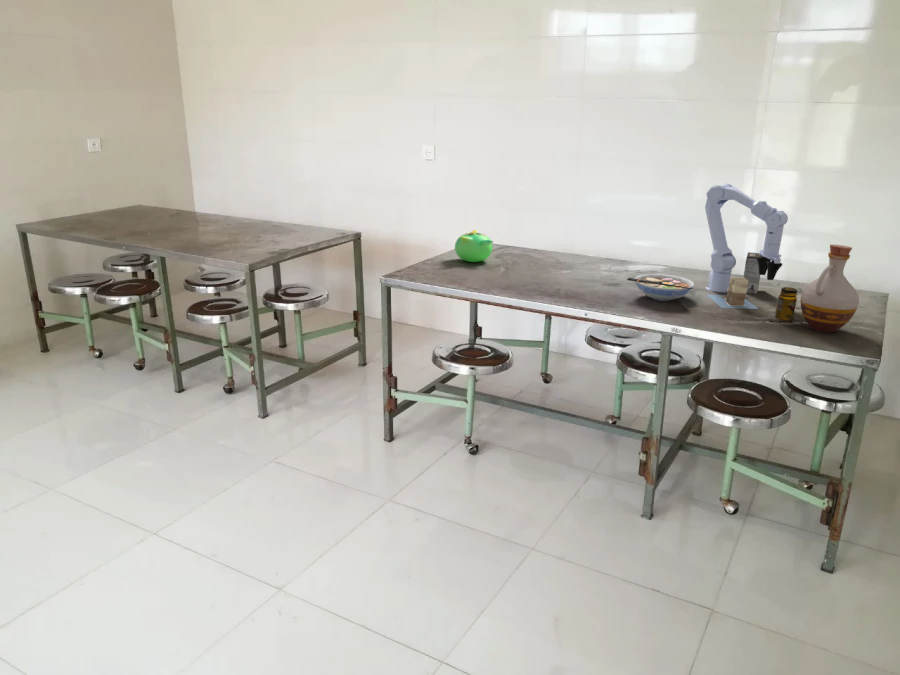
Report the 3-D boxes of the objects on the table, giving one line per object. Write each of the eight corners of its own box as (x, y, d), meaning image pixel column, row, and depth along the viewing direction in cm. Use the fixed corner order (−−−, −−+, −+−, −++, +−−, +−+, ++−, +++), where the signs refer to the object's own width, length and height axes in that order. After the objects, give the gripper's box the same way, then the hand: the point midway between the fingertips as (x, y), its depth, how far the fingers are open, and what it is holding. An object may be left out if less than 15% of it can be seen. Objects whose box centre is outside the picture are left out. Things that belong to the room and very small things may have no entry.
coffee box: (741, 288, 288) (747, 251, 282) (757, 290, 285) (764, 253, 280) (740, 294, 280) (746, 256, 274) (756, 296, 277) (763, 257, 272)
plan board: (705, 297, 274) (706, 294, 274) (740, 298, 274) (740, 295, 274) (721, 310, 257) (722, 307, 257) (758, 311, 257) (759, 308, 257)
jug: (833, 342, 226) (853, 254, 216) (782, 327, 240) (799, 244, 229) (861, 331, 237) (881, 247, 227) (810, 318, 251) (827, 238, 240)
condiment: (796, 324, 244) (802, 292, 240) (771, 322, 245) (777, 290, 241) (789, 317, 251) (795, 286, 247) (765, 316, 252) (771, 285, 248)
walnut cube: (725, 301, 265) (727, 289, 263) (738, 302, 265) (740, 289, 263) (730, 305, 260) (732, 293, 259) (743, 305, 260) (745, 293, 259)
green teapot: (489, 257, 333) (491, 228, 328) (494, 266, 317) (495, 235, 312) (453, 257, 332) (454, 227, 327) (455, 265, 316) (456, 234, 311)
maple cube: (728, 289, 263) (730, 277, 262) (741, 289, 263) (743, 277, 262) (733, 293, 259) (735, 280, 257) (746, 293, 259) (748, 280, 257)
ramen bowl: (699, 297, 274) (702, 277, 272) (687, 311, 256) (690, 290, 253) (638, 287, 286) (641, 268, 283) (622, 300, 268) (624, 280, 265)
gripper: (791, 247, 253) (784, 282, 258) (774, 239, 267) (768, 272, 272) (772, 246, 254) (766, 281, 258) (756, 239, 267) (750, 272, 272)
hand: (766, 277), depth 265 cm, fingers open, 7 cm apart
